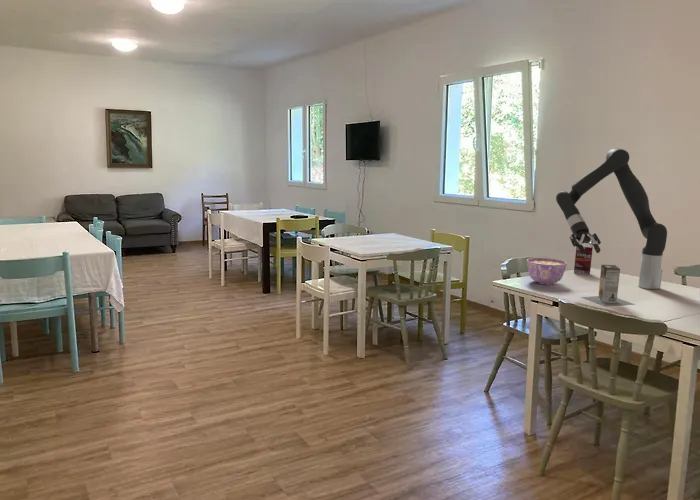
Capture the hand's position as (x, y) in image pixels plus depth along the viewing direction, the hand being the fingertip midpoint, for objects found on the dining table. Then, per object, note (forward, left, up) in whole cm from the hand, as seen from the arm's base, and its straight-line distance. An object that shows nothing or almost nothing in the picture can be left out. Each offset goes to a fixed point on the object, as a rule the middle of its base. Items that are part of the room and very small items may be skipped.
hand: (591, 252), depth 266 cm
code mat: (0, +14, -20) cm, 24 cm away
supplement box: (-28, -40, -20) cm, 53 cm away
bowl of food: (+7, -24, -20) cm, 33 cm away
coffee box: (0, +14, -20) cm, 24 cm away
